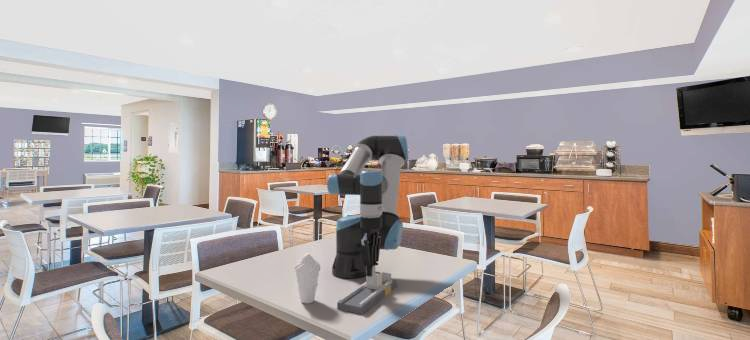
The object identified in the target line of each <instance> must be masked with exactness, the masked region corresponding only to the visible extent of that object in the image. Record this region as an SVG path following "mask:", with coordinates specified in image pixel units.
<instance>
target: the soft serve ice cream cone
mask: <svg viewBox="0 0 750 340" xmlns="http://www.w3.org/2000/svg"><path fill="white" fill-rule="evenodd" d="M294 270H295V271H294V272H295V274H296V275H295V276H296V283H297V284H296V286H297V289H298V292H299V293H298V295H299V299H300V302H301V304H311V303H314V302H315V299H316V292H317V289H318V288H317V287H318V285H319V284H318V280H319V279H318V278H319V275H320V274H319V272H320V271H321V264H320V262H318V260H316V259H315V258H314V257H313V256H312V255H311V254H310V253H307V252H306V253H305V254H304V255H303V257H301V258H300V259H299V260H298V262H296V263H295V266H294Z"/></svg>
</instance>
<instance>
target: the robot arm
mask: <svg viewBox="0 0 750 340" xmlns="http://www.w3.org/2000/svg"><path fill="white" fill-rule="evenodd" d="M408 148H409V147H408V141H407V137H406V136H404V135H398V134H396V135H371V136H367V137H365V138H363V139H361V140H359V141H358V142H357V143H356V144H355V145H354V146H353V147H352V149H351V155H350V156H349V157H348V159H347V160H346V162H345V164H344V165H343V167H342V168H341V170H340V172H338V173H333V174H329V176H328V177H327V180H326V188H327V191H328V193H329V194H331V195H337V196H339V195H340V196H341V195H345V196H348V195H349V196H350V195H351V196H359V198H360V201H359V202H360V203H359V214H356V215H355V214H353V215H348V216H343V217H340V218H339V219H337V221H336V228H335V234H336V235H335V236H336V237H335V238H336V239H335V241H336V242H335V243H336V244H335V246H336V248H335V250H336V252H335V253H336V254H335V257H334V261H333V264H332V266H331V274H332V275H333V276H334V277H337V278H341V279H359V278H363V277H365V279H366V280H365V282H366V285H371V286H374V285H375V271H376V266H378V265H379V261H380V260H379V259H380V251H381V250H385V251H390V250H392V251H393V250H394V251H395V250H397V249H398V248H399V247H400V245H401V243H402V237H403V231H404V230H403V228H404V223H403V221H402V220H401V219H400V216H399V215H398V213H397V212H398V211H397V210H398V200H399V190H400V180H401V171H402V170H401V169H402V168H403V166H405V162H408V161H409V149H408ZM371 161H373V162H374V161H378V163H379V164H380V165H381V167H380V168H381V169H380V170H375V169H374V170H364V168H365V167H366V165H367V164H368V163H370V162H371Z"/></svg>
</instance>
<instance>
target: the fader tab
mask: <svg viewBox="0 0 750 340" xmlns="http://www.w3.org/2000/svg"><path fill="white" fill-rule="evenodd" d="M381 286H382V271H378V270H375V285H374V286H371V285H367V288H370V289H376V290H378V289H379V288H380V287H381Z"/></svg>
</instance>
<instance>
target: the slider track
mask: <svg viewBox="0 0 750 340" xmlns="http://www.w3.org/2000/svg"><path fill="white" fill-rule="evenodd" d="M381 272H382V271H381ZM396 287H398V281H397V280H396V279H395V280H394V279H392V273H390V272H389V273H388V272H382V286H381V287H380V288H379V289H378V290H376V289H370V288H367V285H366V281H365V282H363V283H362V284H360V285H359V286H358V287H356V288H354V289H353V290H351V291H350V292H349V293H346V294H345V295H344V296H342V297H341V298H339V299H338V302H337V306H336V307H337V308H336V309H337V310H342V311H345V312H350V313H354V314H360V315H364V314H365V313H366V312H368V311H369V310H370V309H371V308H373V307H374V306H375V305H376V304H377V303H379V302H380V301H381V300H382V299H384V297H386V296H387V295H388V294H390V292H392V291H393V290H394V289H395V288H396Z"/></svg>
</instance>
